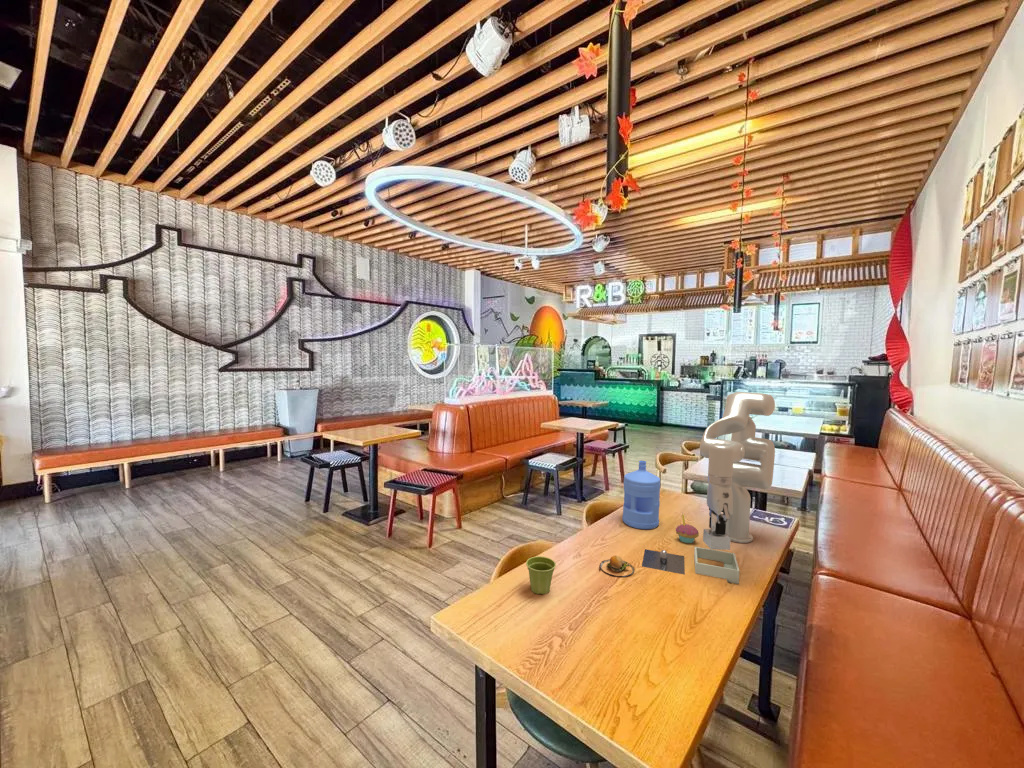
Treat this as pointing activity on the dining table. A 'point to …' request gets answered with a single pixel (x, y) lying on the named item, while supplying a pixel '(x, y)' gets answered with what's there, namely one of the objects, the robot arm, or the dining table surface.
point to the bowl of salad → (616, 565)
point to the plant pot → (540, 573)
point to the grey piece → (716, 536)
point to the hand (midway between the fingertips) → (717, 530)
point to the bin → (726, 572)
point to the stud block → (664, 561)
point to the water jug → (641, 498)
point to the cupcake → (686, 532)
